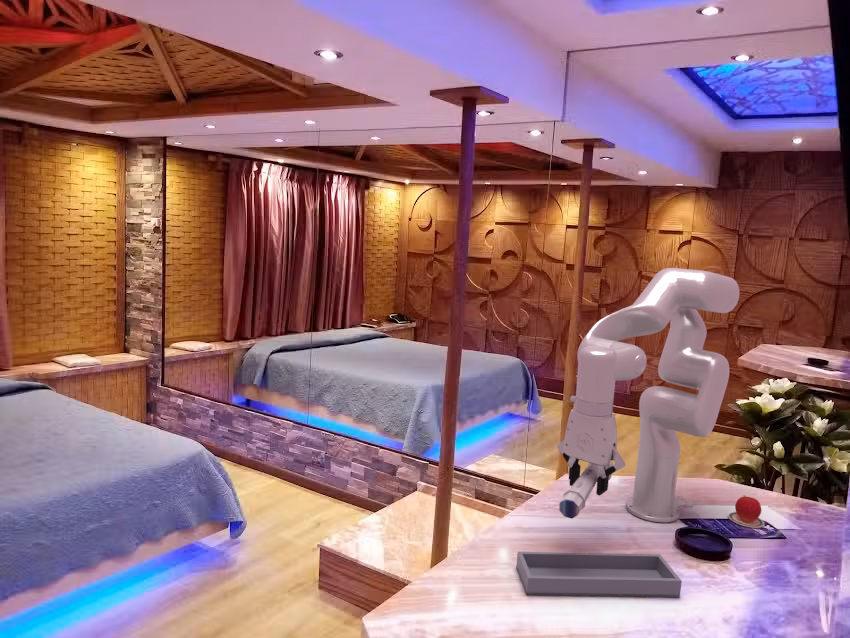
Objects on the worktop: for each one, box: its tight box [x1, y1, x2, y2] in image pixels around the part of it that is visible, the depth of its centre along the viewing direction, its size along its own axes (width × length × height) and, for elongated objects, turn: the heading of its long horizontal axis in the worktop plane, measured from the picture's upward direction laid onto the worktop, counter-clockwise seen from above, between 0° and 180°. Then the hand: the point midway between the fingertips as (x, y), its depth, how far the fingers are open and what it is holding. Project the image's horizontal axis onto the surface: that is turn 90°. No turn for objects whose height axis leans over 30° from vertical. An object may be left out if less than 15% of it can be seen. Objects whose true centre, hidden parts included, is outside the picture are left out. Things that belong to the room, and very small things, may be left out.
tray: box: [515, 551, 683, 599], centre depth 125 cm, size 30×10×4 cm, turn 94°
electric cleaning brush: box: [558, 461, 614, 520], centre depth 134 cm, size 5×7×25 cm
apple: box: [727, 495, 765, 529], centre depth 156 cm, size 8×8×6 cm
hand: (587, 487), depth 135 cm, fingers closed on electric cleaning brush, 5 cm apart
